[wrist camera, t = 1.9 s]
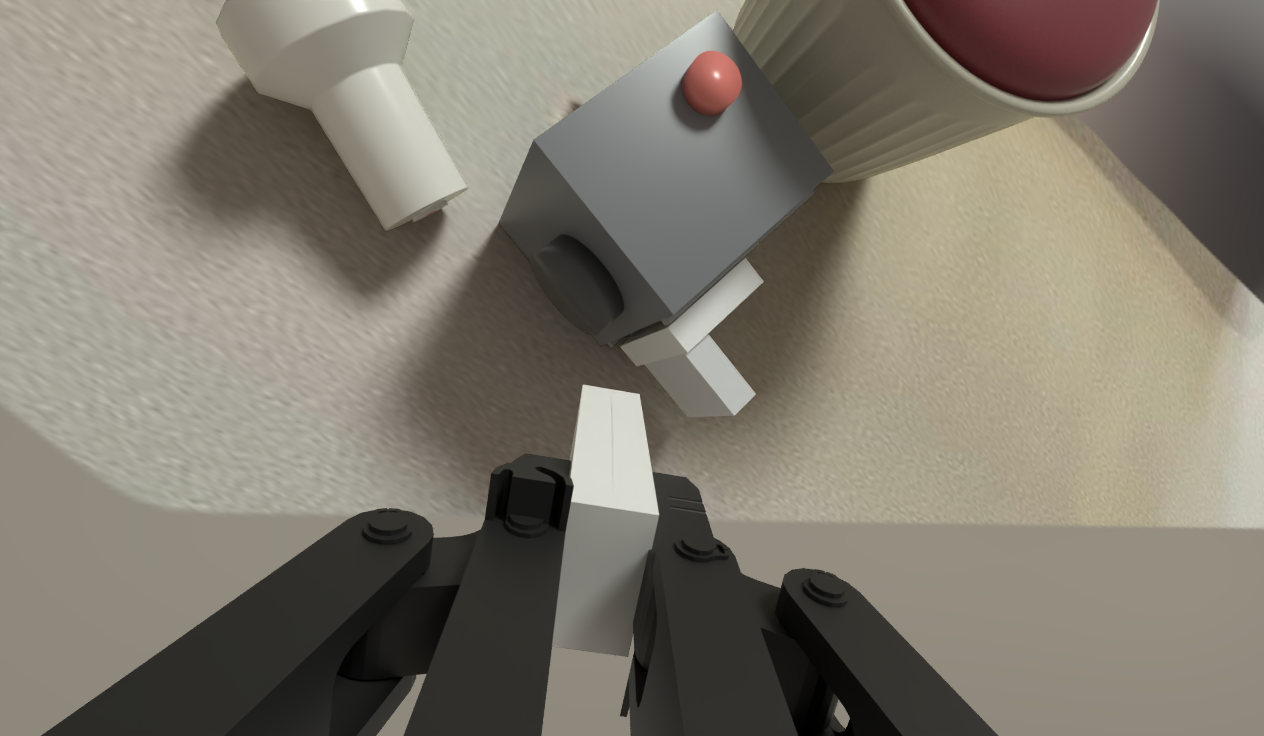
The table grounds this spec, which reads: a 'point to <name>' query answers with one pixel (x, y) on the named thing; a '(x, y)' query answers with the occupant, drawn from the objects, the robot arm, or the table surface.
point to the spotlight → (350, 93)
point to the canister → (937, 68)
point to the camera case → (660, 185)
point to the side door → (698, 350)
